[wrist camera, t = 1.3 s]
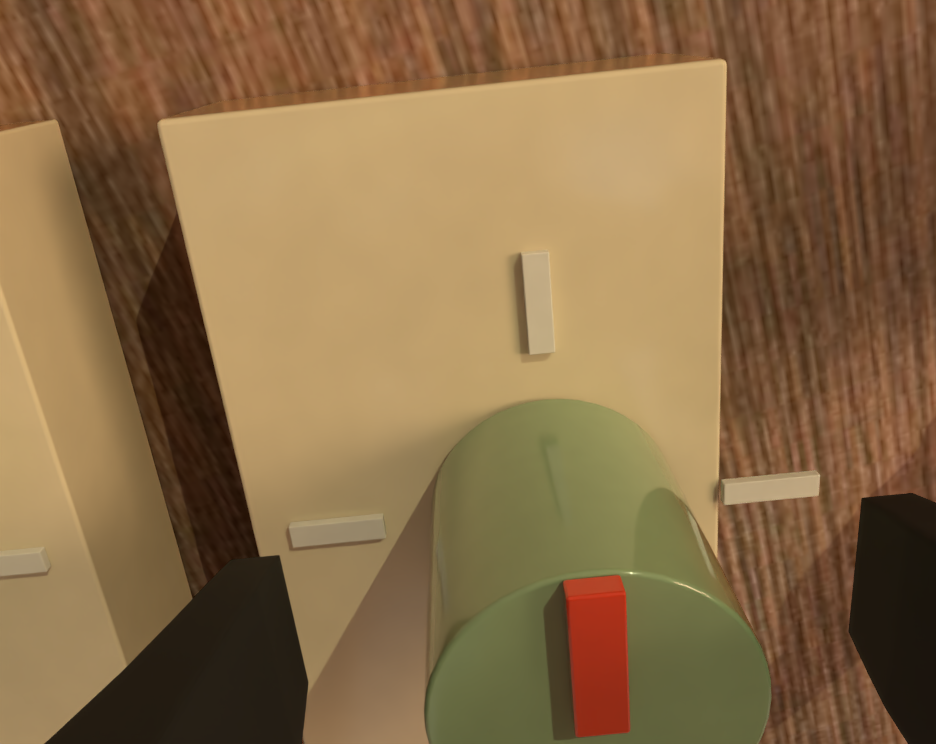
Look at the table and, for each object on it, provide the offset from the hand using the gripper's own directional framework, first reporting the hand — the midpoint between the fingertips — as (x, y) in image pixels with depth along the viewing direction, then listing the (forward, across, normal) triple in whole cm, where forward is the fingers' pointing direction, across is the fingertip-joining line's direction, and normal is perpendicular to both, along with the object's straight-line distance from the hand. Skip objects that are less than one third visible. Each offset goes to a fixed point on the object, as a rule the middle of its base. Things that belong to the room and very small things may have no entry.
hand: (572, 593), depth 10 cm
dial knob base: (+5, +1, 0) cm, 5 cm away
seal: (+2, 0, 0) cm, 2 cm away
